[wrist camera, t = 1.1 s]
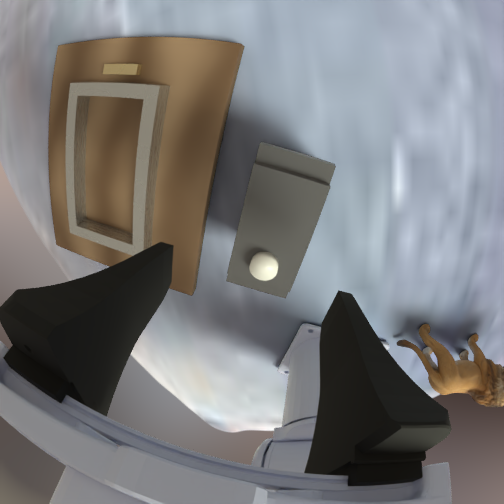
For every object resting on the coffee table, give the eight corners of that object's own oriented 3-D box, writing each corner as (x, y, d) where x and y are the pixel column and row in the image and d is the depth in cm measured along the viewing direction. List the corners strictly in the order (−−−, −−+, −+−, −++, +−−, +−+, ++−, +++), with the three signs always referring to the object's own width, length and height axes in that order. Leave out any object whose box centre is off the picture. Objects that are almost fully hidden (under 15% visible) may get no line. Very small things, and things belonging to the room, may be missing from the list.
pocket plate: (244, 46, 14) (235, 39, 12) (195, 288, 25) (186, 306, 23) (66, 45, 15) (45, 45, 13) (62, 240, 26) (47, 252, 23)
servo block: (328, 150, 17) (338, 171, 13) (289, 261, 22) (284, 309, 17) (269, 133, 17) (256, 147, 13) (240, 246, 22) (222, 291, 18)
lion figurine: (503, 326, 22) (531, 385, 14) (481, 356, 24) (501, 414, 17) (405, 320, 23) (427, 401, 16) (385, 356, 26) (396, 431, 18)
